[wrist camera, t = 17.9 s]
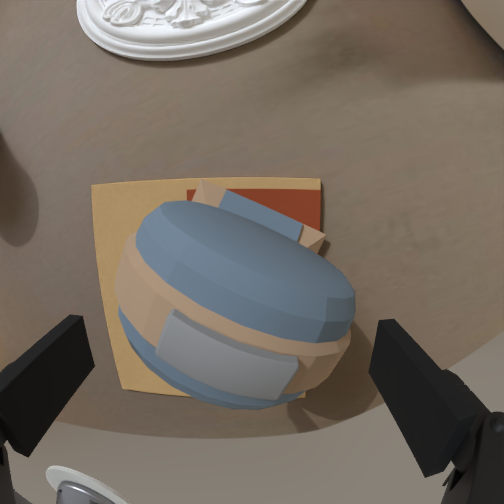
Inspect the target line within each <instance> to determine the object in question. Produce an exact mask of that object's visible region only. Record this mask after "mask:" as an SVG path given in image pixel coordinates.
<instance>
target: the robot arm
mask: <svg viewBox="0 0 504 504" xmlns="http://www.w3.org/2000/svg"><path fill="white" fill-rule="evenodd" d="M94 367H95V365H94V361H93V357H92V353H91V350H90V346H89V342H88V337H87V333H86V329H85V324H84V320H83V316H79V315H69V316H67V317H66V318H65V319H64V320H63V321H61V322H60V323H59V324H58V325H57V326H55V327H54V328H53V329H52V330H51V331H49V332H48V333H47V334H46V335H45V336H43V337H42V338H41V339H40V340H39V341H38V342H36V343H35V344H34V345H33V346H32V347H31V348H29V349H28V350H27V351H26V352H25V353H24V354H23V355H21V356H20V357H19V358H18V359H17V360H16V361H14V362H12V363H10V364H9V365H7V366H6V367H5V368H4V369H3V370H2V371H1V372H0V504H32V503H30V502H29V501H28V500H26V499H25V498H23V497H22V496H21V495H20V494H18V493H17V492H15V489H13V486H12V481H11V474H10V468H9V462H8V453H7V450H6V447H5V446H4V443H5V442H6V440H8V442H9V443H10V445H11V446H12V448H13V449H14V451H16V452H18V453H20V454H22V455H24V456H26V457H29V456H30V455H31V453H32V452H33V450H34V449H35V447H36V446H37V444H38V443H39V442H40V440H41V439H42V437H43V436H44V434H45V433H46V432H47V430H48V429H49V427H50V426H51V424H52V423H53V422H54V420H55V419H56V417H57V416H58V415H59V413H60V412H61V411H62V409H63V408H64V407H65V405H66V404H67V402H68V401H69V400H70V398H71V397H72V396H73V394H74V393H75V392H76V390H77V389H78V388H79V386H80V385H81V384H82V382H83V381H84V380H85V378H86V377H87V376H88V375H89V373H90V372H91V371H92V369H93V368H94ZM369 374H370V376H371V378H372V379H373V381H374V383H375V385H376V387H377V388H378V390H379V392H380V394H381V395H382V397H383V399H384V401H385V403H386V405H387V406H388V408H389V410H390V412H391V414H392V415H393V417H394V419H395V421H396V423H397V425H398V426H399V428H400V430H401V432H402V434H403V436H404V438H405V440H406V442H407V444H408V446H409V447H410V449H411V451H412V453H413V455H414V457H415V459H416V461H417V463H418V465H419V467H420V469H421V471H422V473H423V475H424V477H425V478H426V477H429V476H432V475H435V474H438V473H440V472H443V471H444V470H445V468H446V467H447V465H448V464H449V462H450V461H452V462H453V464H454V466H455V468H454V469H453V470H452V472H451V473H450V475H449V476H448V477H447V479H446V480H445V482H444V483H443V485H442V486H445V485H446V484H447V482H448V481H449V482H448V485H447V488H446V491H445V494H444V496H443V499H442V502H441V504H504V413H503V412H492V413H491V412H490V411H489V410H488V409H487V408H486V407H485V405H484V404H483V403H482V402H481V401H480V400H479V399H478V398H477V397H476V395H475V394H474V393H473V392H472V391H470V389H469V388H468V386H467V385H464V382H463V381H462V380H461V379H460V378H459V377H458V376H457V375H456V374H454V373H452V372H451V371H449V370H447V369H445V370H441V369H440V368H439V367H438V366H437V365H436V363H435V362H434V361H433V360H432V359H431V358H430V357H429V356H428V355H427V354H426V352H425V351H424V350H423V349H422V348H421V347H420V346H419V345H418V344H417V343H416V342H415V341H414V339H413V338H412V337H411V336H410V335H409V334H408V333H407V332H406V331H405V330H404V329H403V328H402V327H401V326H400V325H399V324H398V323H397V322H396V320H395V319H386V320H379V322H378V327H377V333H376V338H375V343H374V348H373V353H372V358H371V363H370V367H369ZM56 504H115V503H114V502H112V501H111V500H110V499H108V498H107V497H105V496H103V495H102V494H100V493H98V492H96V491H94V490H92V489H90V488H88V487H86V486H84V485H81V484H78V483H75V482H72V481H61V482H60V484H59V486H58V488H57V502H56Z"/></svg>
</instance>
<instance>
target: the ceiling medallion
mask: <svg viewBox="0 0 504 504" xmlns="http://www.w3.org/2000/svg"><path fill="white" fill-rule="evenodd" d="M306 1H307V0H77V15H78V19H79V22H80V24H81V27H82V28H83V30H84V32H85V33H86V34H87V35H88V37H89V38H90V39H92V40H93V41H94V42H95V43H96V44H98V45H99V46H100V47H102V48H104V49H105V50H107V51H109V52H111V53H114V54H116V55H119V56H123V57H127V58H131V59H137V60H146V61H174V60H184V59H191V58H197V57H203V56H207V55H212V54H216V53H219V52H223V51H226V50H230V49H232V48H235V47H238V46H241V45H244V44H246V43H249V42H251V41H253V40H255V39H257V38H260V37H262V36H264V35H265V34H267V33H269V32H271V31H273V30H274V29H276V28H277V27H279V26H280V25H282V24H283V23H285V22H286V21H287V20H289V19H290V18H291V17H292V16H293V15H295V14H296V13H297V12H298V11H299V10H300V9H301V8H302V6H303V5H304V4H305V3H306Z"/></svg>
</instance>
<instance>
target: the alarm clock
mask: <svg viewBox="0 0 504 504" xmlns="http://www.w3.org/2000/svg"><path fill="white" fill-rule="evenodd" d="M325 237H326V234H324V233H322V232H320V231H318V230H315V229H313V228H311V227H309V226H307V225H305V224H303V223H301V222H298V221H296V220H294V219H292V218H290V217H288V216H285V215H283V214H281V213H279V212H277V211H274V210H272V209H270V208H268V207H266V206H263V205H261V204H259V203H257V202H254V201H252V200H250V199H248V198H245V197H243V196H241V195H238V194H236V193H234V192H231V191H229V190H227V189H224V188H222V187H220V186H217V185H215V184H213V183H210V182H208V181H206V180H203V179H201V180H200V182H199V185H198V187H197V190H196V192H195V194H194V197H193V199H192V201H187V200H184V201H170V202H164V203H163V204H161V205H160V206H159V207H157V208H156V209H155V210H153V211H152V212H151V213H150V214H148V215H147V216H146V217H145V218H144V219H143V221H142V223H141V225H140V227H139V229H138V230H137V231H135V232H134V233H132V234H131V235H130V236H129V237H128V238H127V239H126V242H125V245H124V248H123V252H122V255H121V258H120V262H119V265H118V269H117V272H116V277H115V286H114V292H115V294H116V297H117V300H118V303H119V307H118V316H119V319H120V321H121V324H122V326H123V329H124V332H125V334H126V336H127V339H128V341H129V343H130V345H131V347H132V349H133V350H134V351H135V353H136V354H137V355H138V356H139V358H140V359H141V360H142V361H143V363H144V364H145V365H146V366H147V367H148V368H149V369H150V370H151V371H153V372H154V373H155V374H156V375H158V376H159V377H160V378H161V379H163V380H164V381H165V382H167V383H168V384H169V385H171V386H172V387H174V388H176V389H178V390H180V391H182V392H184V393H186V394H188V395H190V396H192V397H194V398H196V399H198V400H200V401H203V402H207V403H211V404H214V405H218V406H222V407H226V408H231V409H251V410H260V409H264V408H268V407H272V406H276V405H279V404H283V403H286V402H289V401H293V400H295V399H296V398H298V397H299V396H300V395H301V394H303V393H304V392H305V391H307V390H308V389H312V388H315V387H317V386H318V385H319V384H320V383H322V382H323V381H324V380H325V379H326V378H327V377H329V375H330V374H331V372H332V371H333V369H334V368H335V366H336V365H337V363H338V362H339V360H340V359H341V357H342V356H343V354H344V352H345V351H346V349H347V348H348V346H349V345H350V339H351V330H350V326H351V323H352V321H353V318H354V315H355V291H354V289H353V288H352V286H351V284H350V283H349V281H348V280H347V279H346V277H345V276H344V274H343V273H342V272H341V271H340V270H338V269H337V268H336V267H335V266H334V265H333V264H331V263H330V262H328V261H327V260H326V259H324V258H323V257H321V256H320V255H318V254H317V253H318V251H319V249H320V247H321V245H322V243H323V241H324V239H325Z"/></svg>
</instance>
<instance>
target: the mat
mask: <svg viewBox="0 0 504 504" xmlns="http://www.w3.org/2000/svg"><path fill="white" fill-rule="evenodd" d="M201 179H203V180H206V181H208V182H210V183H213V184H215V185H217V186H220V187H222V188H224V189H227V190H229V191H231V192H234V193H236V194H238V195H241V196H243V197H245V198H248V199H250V200H252V201H254V202H257V203H259V204H261V205H263V206H266V207H268V208H270V209H272V210H274V211H277V212H279V213H281V214H283V215H285V216H288V217H290V218H292V219H294V220H296V221H298V222H301V223H303V224H305V225H307V226H309V227H311V228H313V229H315V230H318V231H320V209H321V179H310V178H268V177H231V178H189V179H166V180H148V181H133V182H120V183H108V184H97V185H92V209H93V225H94V237H95V247H96V257H97V265H98V273H99V280H100V287H101V293H102V299H103V305H104V311H105V316H106V322H107V327H108V332H109V336H110V341H111V346H112V350H113V354H114V358H115V363H116V367H117V370H118V374H119V378H120V382H121V385H122V389H128V390H134V391H142V392H149V393H158V394H167V395H177V396H189V397H192V396H190V395H188V394H186V393H184V392H182V391H180V390H178V389H176V388H174V387H172V386H171V385H169V384H168V383H167V382H165V381H164V380H163V379H161V378H160V377H159V376H158V375H156V374H155V373H154V372H153V371H151V370H150V369H149V368H148V367H147V366H146V365H145V364H144V363H143V361H142V360H141V359H140V358H139V356H138V355H137V354H136V353H135V351H134V350H133V349H132V347H131V345H130V343H129V341H128V339H127V336H126V334H125V332H124V329H123V326H122V324H121V321H120V319H119V316H118V307H119V303H118V300H117V297H116V294H115V292H114V286H115V277H116V272H117V269H118V265H119V262H120V258H121V255H122V252H123V248H124V245H125V242H126V239H127V238H128V237H129V236H130V235H131V234H132V233H134V232H135V231H137V230H138V229H139V227H140V225H141V223H142V221H143V219H144V218H145V217H146V216H147V215H148V214H150V213H151V212H152V211H153V210H155V209H156V208H157V207H159V206H160V205H161V204H163V203H164V202H170V201H184V200H187V201H192V199H193V197H194V194H195V192H196V190H197V187H198V185H199V182H200V180H201ZM317 254H318V255H319V251H318V253H317ZM305 394H306V391H305V392H304V393H303V394H301V395H300V396H299V397H298V398H305Z"/></svg>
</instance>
